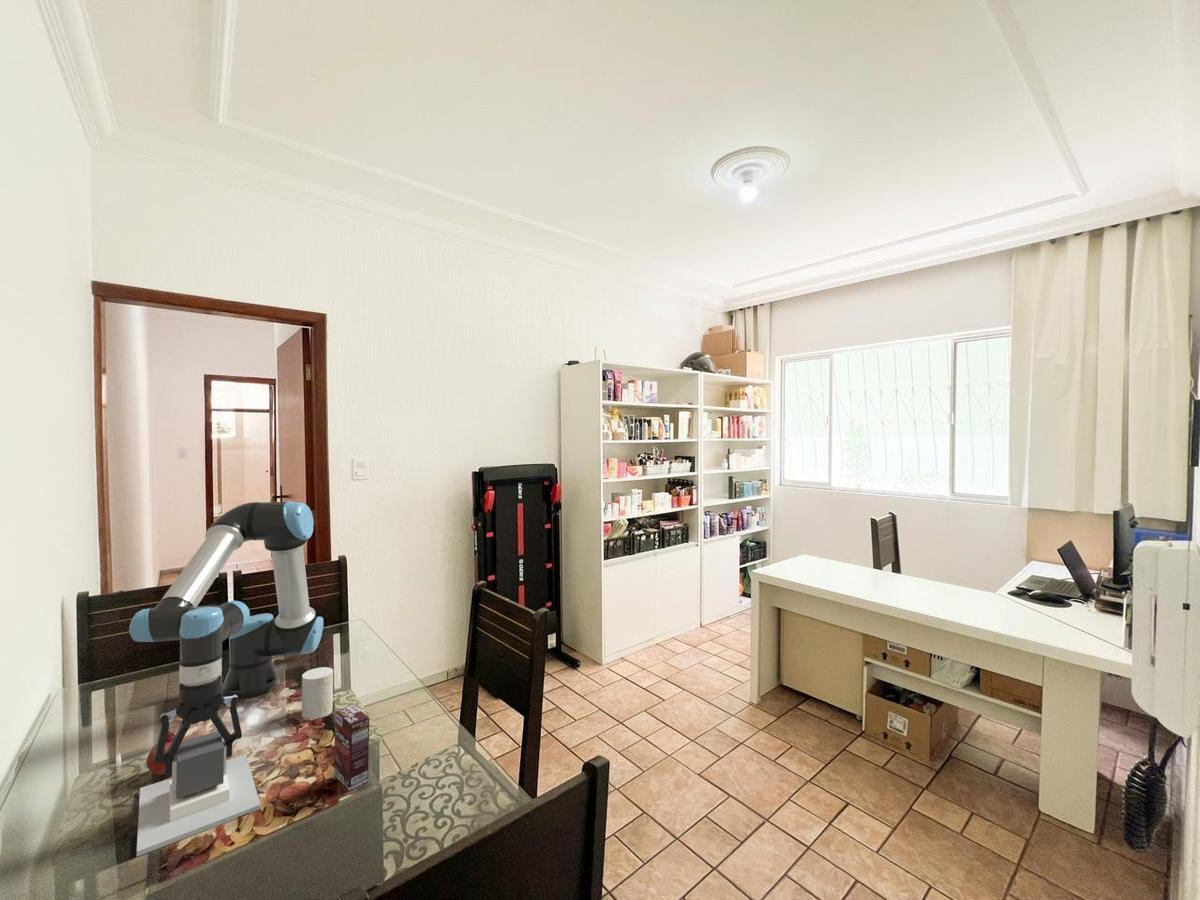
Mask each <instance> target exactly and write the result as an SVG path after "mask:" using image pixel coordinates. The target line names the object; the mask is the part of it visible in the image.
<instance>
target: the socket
mask: <svg viewBox="0 0 1200 900" xmlns="http://www.w3.org/2000/svg"><path fill="white" fill-rule="evenodd" d="M259 810H261V801H260V798H259V795H258V792H257V787H256V785H255V782H254V778H253V774H252V771H251V767H250V763H249V760H248V756H247V754H242V755H239V756H236V757H233V758H229V759H226V775H224V781H223V784H220V785H217V786H214V787H211V788H208V789H205V790H203V792H200V793H197V794H196V793H194V794H191V795H188V796H185V797H182V798H179V799H177V797H176V792H173V793H172V777H169V778H168V779H163V780H162V781H158V782H155V783H151V784H148V785H146V786H143V787H140V788H139V803H138V821H137V837H136V839H137V840H136V857H139V856H143V855H145V854H147V853H151V852H152V851H156V850H158V849H161V848H164V847H165V846H168V845H171V844H173V843H176V842H179V841H181V840H184V839H187V838H189V837H192V836H194V835H197V834H199V833H202V832H204V831H207V830H210V829H212V828H215V827H218V826H220V825H223V824H225V823H229V822H230V820H231V821H233V820H232V819H234V818H236V819H238V818H237V817H239V816H241V817H243V816H242V815H244V814H246V815H248V814H247V813H249V814H252V813H254V812H256V811H259ZM244 816H245V815H244ZM239 818H240V817H239ZM234 820H235V819H234Z"/></svg>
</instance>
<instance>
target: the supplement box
mask: <svg viewBox="0 0 1200 900" xmlns="http://www.w3.org/2000/svg"><path fill="white" fill-rule="evenodd" d="M369 747H370V716H369V715H366V714H365V713H364V712H362V711H361V710H360V709H359V708H357V706H356V705H354V704H351V705H349V706H346V707H344V708H340V709H339V710H336V711H335V712H334V764H333V765H334V767H333V769H334V773H333V775H334V777H337V778H338V779H337V780H340V783H342V784H343V786H344V785H345V786H346V787H347V788H348V789H349V790H350V791H352V790H354V789H356V788H358V787H360V786H362V785H364V784H367V781H368V782H369V768H370V767H369V764H370V763H369V760H370V759H369V756H370V755H369V754H370V753H369V750H370V748H369ZM363 783H364V784H363ZM345 786H344V787H345ZM346 787H345V788H346ZM347 788H346V789H347ZM353 788H354V789H353ZM348 789H347V790H348ZM351 789H352V790H351ZM349 790H348V791H349Z"/></svg>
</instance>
